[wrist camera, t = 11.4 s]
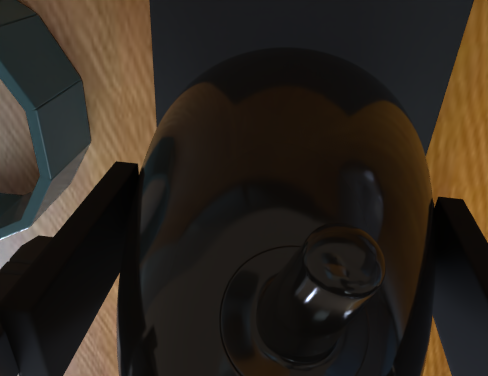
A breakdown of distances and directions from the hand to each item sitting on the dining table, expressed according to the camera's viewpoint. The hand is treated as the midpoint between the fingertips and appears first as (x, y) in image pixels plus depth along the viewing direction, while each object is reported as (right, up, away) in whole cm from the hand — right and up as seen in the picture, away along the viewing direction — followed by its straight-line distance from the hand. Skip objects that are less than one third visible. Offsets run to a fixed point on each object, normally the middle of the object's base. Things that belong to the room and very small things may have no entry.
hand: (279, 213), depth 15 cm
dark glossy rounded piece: (+1, +3, +5) cm, 6 cm away
